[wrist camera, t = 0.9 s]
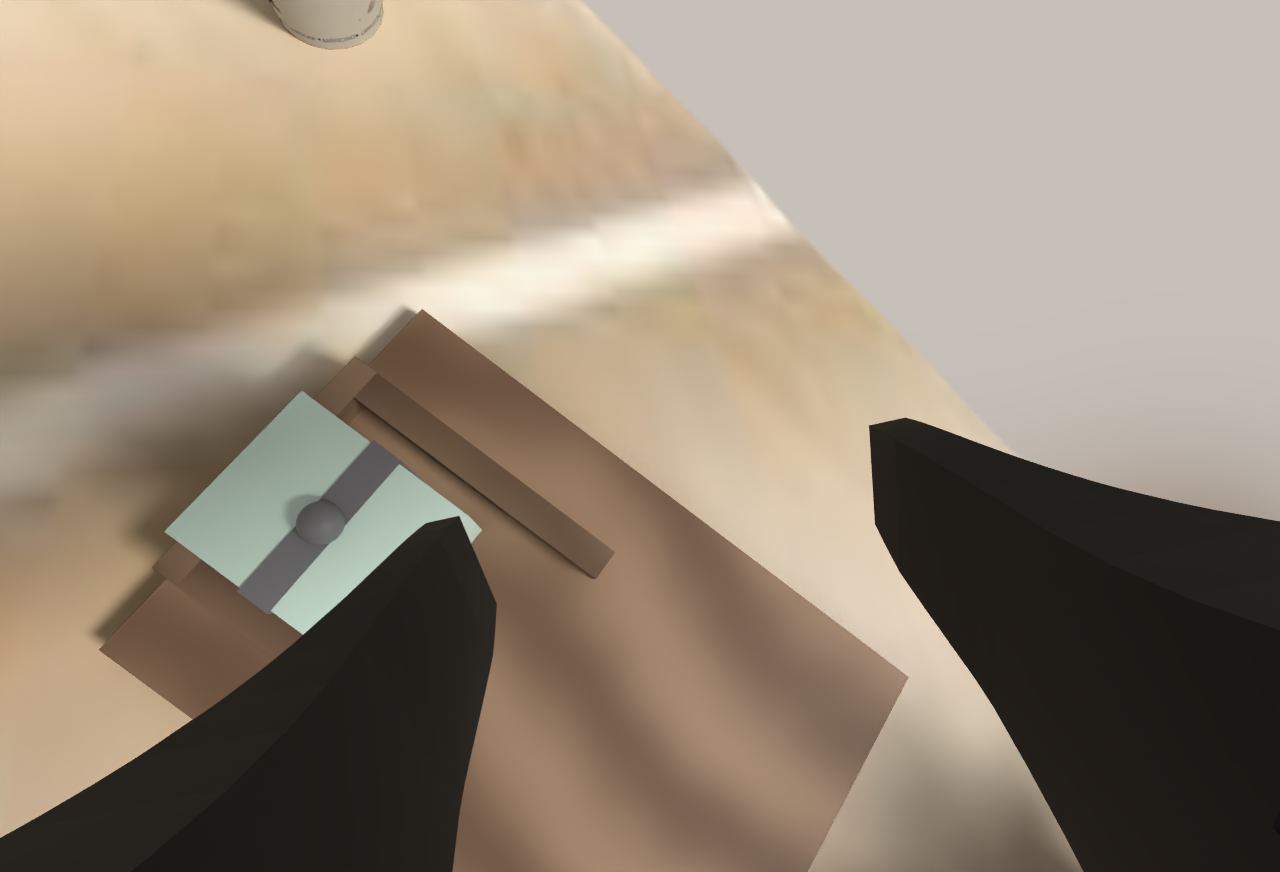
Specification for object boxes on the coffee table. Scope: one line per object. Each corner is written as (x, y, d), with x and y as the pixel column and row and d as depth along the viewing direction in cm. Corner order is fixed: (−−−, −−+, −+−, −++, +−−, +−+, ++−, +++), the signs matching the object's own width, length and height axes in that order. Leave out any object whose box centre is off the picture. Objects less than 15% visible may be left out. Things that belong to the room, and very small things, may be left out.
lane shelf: (686, 1066, 22) (706, 1127, 20) (117, 646, 22) (66, 655, 19) (894, 673, 26) (931, 683, 24) (425, 318, 26) (415, 293, 24)
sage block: (390, 644, 22) (334, 674, 16) (255, 544, 22) (143, 532, 16) (483, 528, 24) (468, 510, 17) (358, 433, 24) (294, 379, 17)
